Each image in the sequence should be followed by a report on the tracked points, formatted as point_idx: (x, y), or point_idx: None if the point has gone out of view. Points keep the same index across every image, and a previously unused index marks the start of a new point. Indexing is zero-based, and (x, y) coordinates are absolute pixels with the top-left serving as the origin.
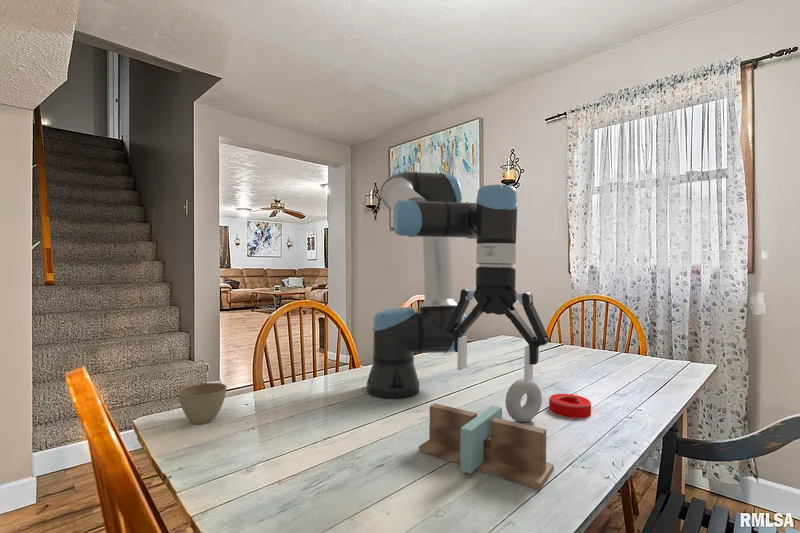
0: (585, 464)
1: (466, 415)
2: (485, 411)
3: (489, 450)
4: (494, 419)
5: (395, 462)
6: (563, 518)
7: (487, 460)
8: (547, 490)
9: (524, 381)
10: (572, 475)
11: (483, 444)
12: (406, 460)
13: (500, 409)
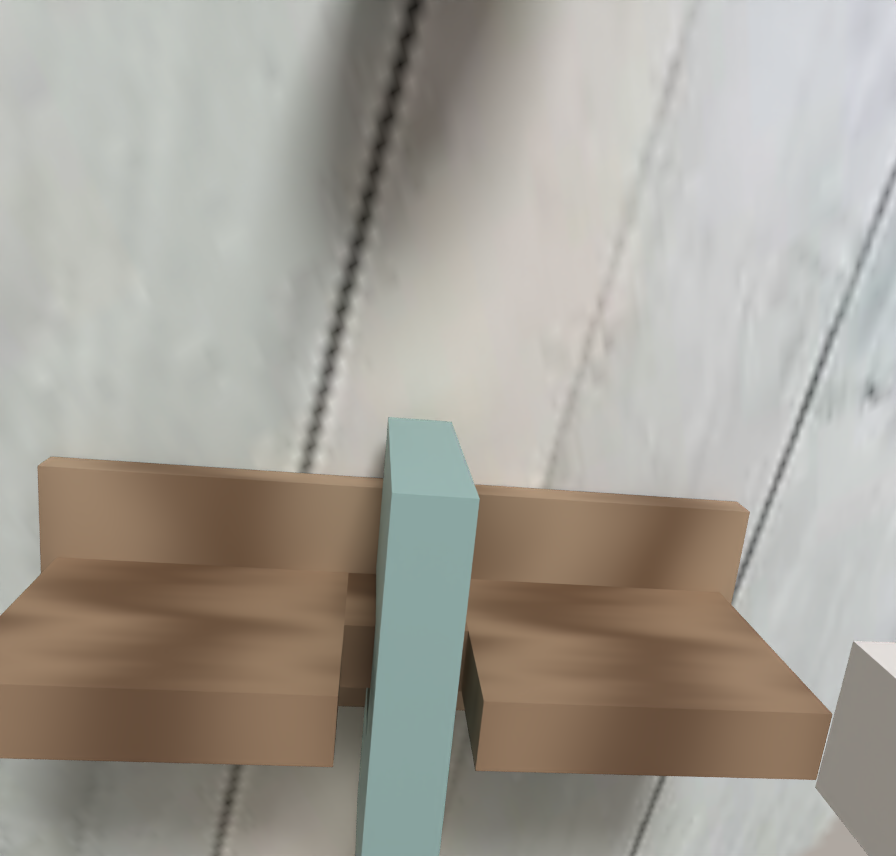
0: (883, 355)
1: (283, 761)
2: (390, 655)
3: None
4: (491, 740)
5: (28, 829)
6: (787, 826)
7: None
8: None
9: (825, 796)
10: (820, 506)
11: None
12: (62, 787)
13: (474, 528)
